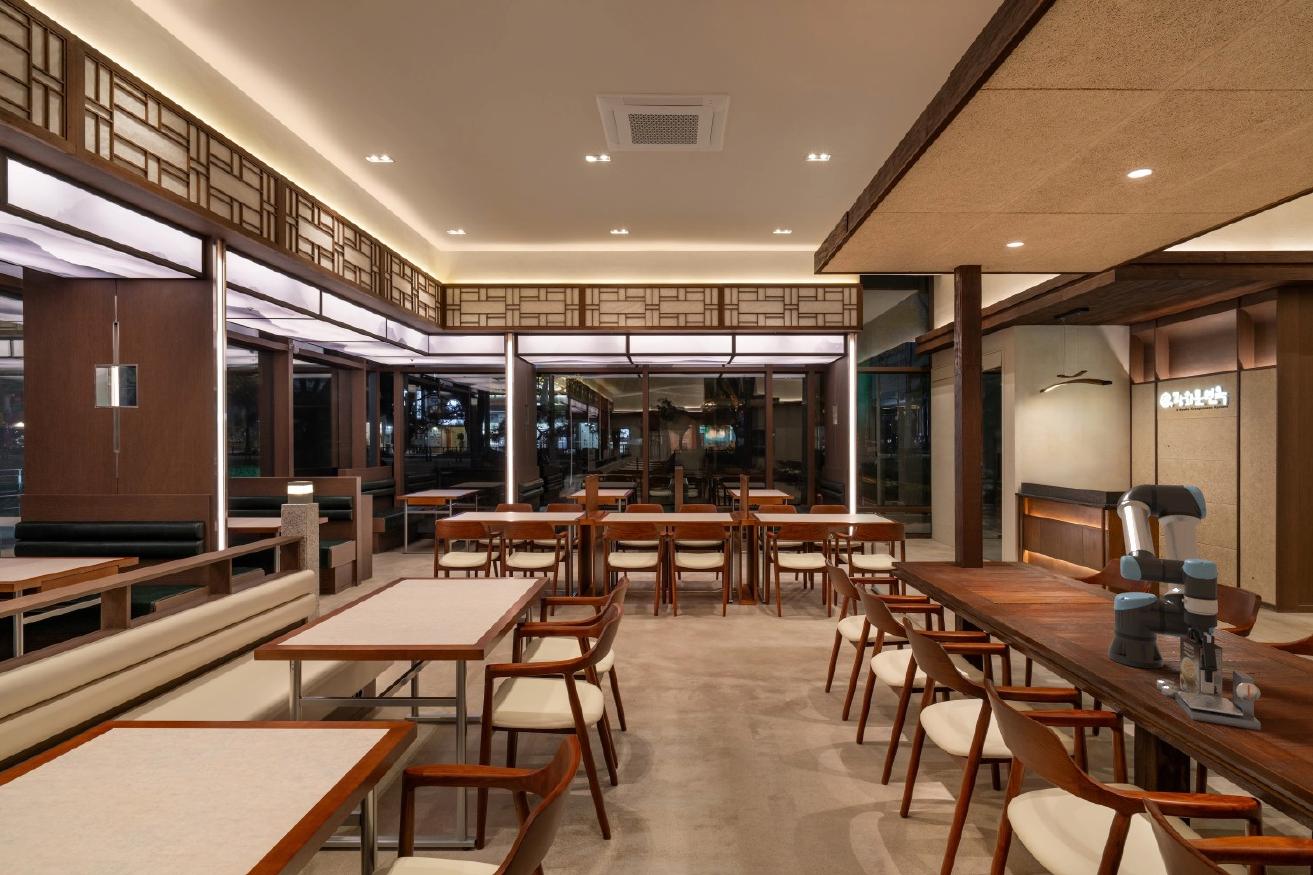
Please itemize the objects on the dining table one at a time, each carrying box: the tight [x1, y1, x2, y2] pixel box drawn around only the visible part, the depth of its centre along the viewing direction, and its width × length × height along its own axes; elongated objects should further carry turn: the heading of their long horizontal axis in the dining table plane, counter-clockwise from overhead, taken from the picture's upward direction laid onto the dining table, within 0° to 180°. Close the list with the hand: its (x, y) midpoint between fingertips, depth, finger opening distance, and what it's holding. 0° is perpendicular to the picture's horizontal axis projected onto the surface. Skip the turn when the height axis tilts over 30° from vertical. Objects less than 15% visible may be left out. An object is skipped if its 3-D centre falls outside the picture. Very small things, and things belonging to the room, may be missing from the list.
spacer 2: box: [1161, 684, 1182, 699], centre depth 182 cm, size 4×4×2 cm
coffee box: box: [1179, 637, 1223, 698], centre depth 182 cm, size 9×6×16 cm
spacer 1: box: [1156, 678, 1176, 691], centre depth 187 cm, size 4×4×2 cm
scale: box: [1175, 670, 1262, 731], centre depth 169 cm, size 14×15×12 cm
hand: (1200, 685), depth 182 cm, fingers closed on coffee box, 10 cm apart
